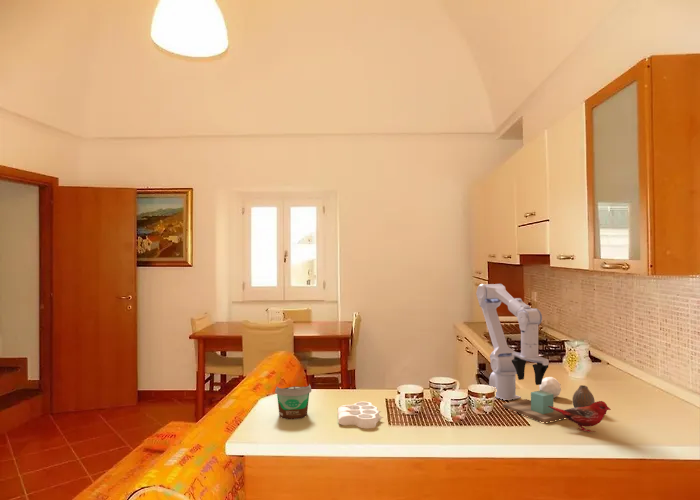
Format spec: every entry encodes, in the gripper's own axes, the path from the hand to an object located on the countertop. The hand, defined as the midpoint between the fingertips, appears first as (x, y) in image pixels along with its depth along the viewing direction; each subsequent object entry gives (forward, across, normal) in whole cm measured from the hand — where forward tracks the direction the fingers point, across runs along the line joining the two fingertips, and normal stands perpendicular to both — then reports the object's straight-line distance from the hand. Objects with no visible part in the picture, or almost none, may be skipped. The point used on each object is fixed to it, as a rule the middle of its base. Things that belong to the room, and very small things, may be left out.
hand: (529, 381), depth 172 cm
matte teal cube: (+8, +7, -2) cm, 11 cm away
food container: (+10, -31, -76) cm, 83 cm away
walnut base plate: (+9, +4, -2) cm, 10 cm away
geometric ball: (+10, -6, +18) cm, 21 cm away
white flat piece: (+10, -20, -58) cm, 62 cm away
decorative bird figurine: (+10, +22, -4) cm, 24 cm away
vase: (+10, +11, +14) cm, 20 cm away
